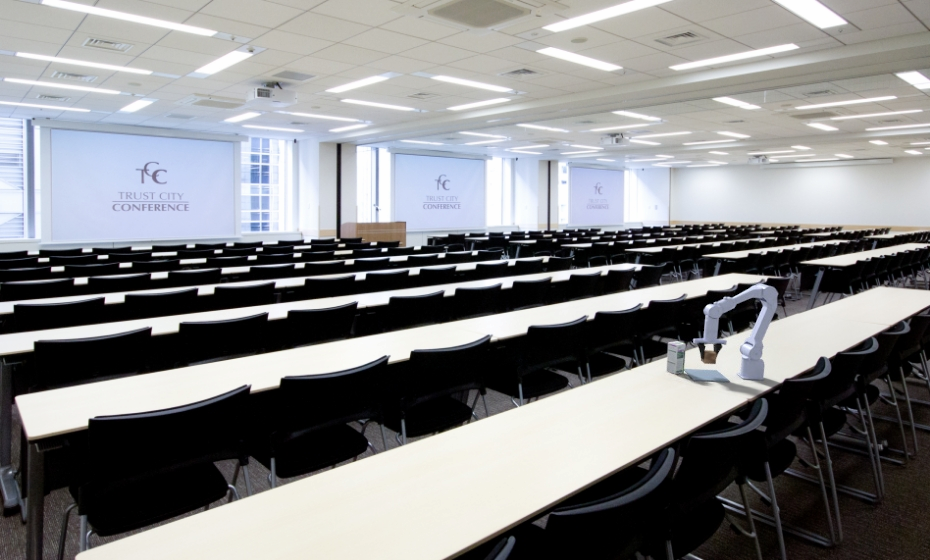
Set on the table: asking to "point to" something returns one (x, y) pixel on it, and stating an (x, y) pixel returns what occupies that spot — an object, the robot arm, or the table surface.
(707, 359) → the walnut cube
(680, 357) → the syrup box
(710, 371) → the slate board
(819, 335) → the table surface
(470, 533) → the table surface
